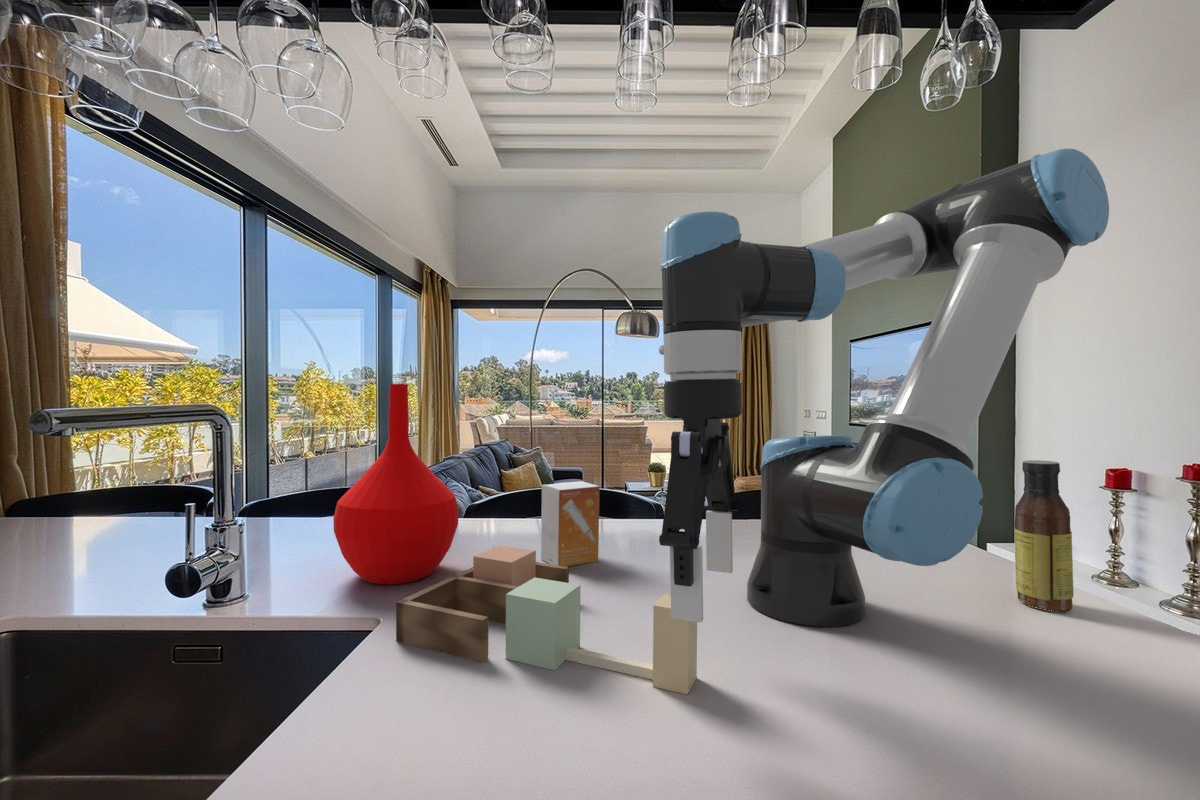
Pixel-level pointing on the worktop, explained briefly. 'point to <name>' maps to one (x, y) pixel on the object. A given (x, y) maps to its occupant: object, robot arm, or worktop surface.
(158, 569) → the worktop surface
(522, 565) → the terracotta block
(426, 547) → the vase
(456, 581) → the lane rack
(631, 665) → the tethered block
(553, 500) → the small box
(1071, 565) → the sauce bottle
